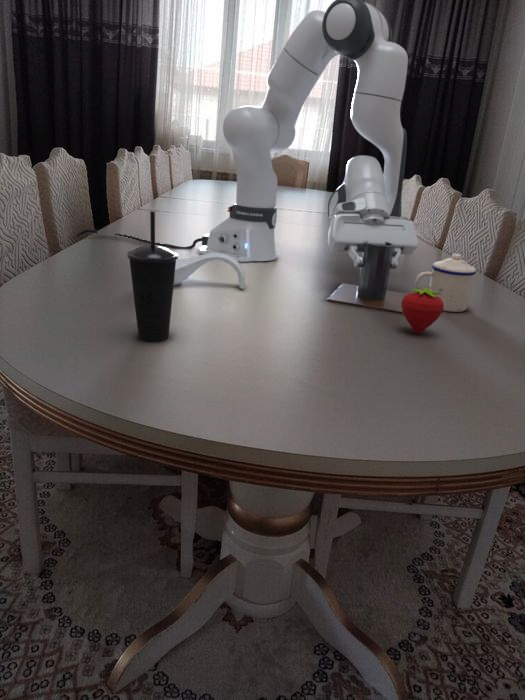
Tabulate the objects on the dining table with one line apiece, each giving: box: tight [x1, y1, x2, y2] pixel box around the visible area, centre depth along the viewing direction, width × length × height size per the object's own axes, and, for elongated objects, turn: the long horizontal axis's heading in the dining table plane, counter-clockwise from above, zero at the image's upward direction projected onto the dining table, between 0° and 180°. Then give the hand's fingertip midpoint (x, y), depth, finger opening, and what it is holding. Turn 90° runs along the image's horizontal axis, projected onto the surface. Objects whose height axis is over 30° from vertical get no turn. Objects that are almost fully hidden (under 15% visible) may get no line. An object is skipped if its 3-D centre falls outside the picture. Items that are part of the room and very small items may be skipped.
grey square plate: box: [326, 283, 409, 314], centre depth 117 cm, size 16×16×1 cm
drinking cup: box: [126, 211, 179, 343], centre depth 81 cm, size 8×8×20 cm
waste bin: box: [357, 241, 394, 300], centre depth 115 cm, size 6×6×12 cm
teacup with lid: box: [415, 253, 477, 313], centre depth 113 cm, size 12×9×12 cm
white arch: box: [174, 253, 246, 290], centre depth 116 cm, size 24×12×7 cm, turn 91°
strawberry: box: [401, 280, 444, 334], centre depth 95 cm, size 6×8×10 cm
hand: (376, 266), depth 114 cm, fingers closed on waste bin, 6 cm apart
